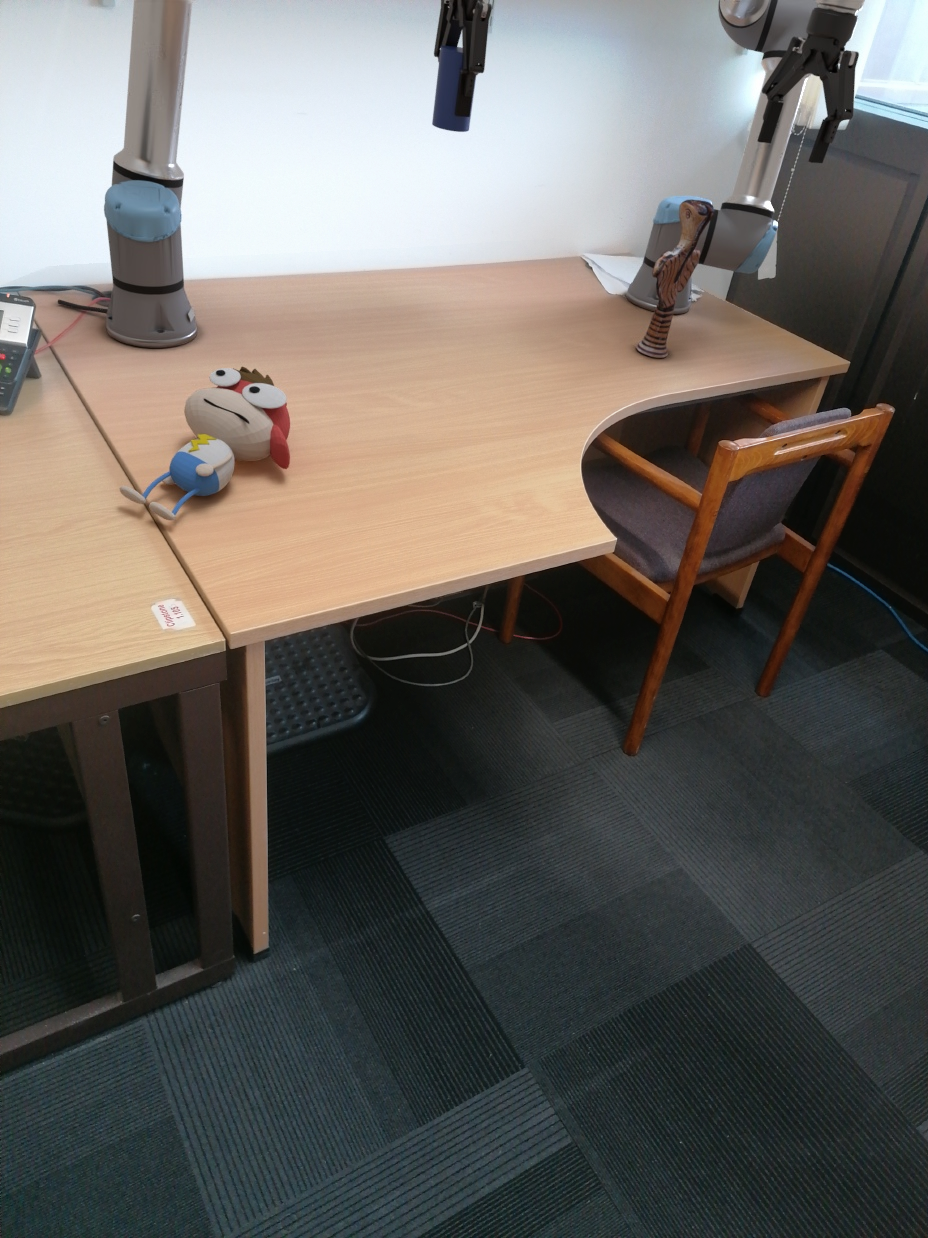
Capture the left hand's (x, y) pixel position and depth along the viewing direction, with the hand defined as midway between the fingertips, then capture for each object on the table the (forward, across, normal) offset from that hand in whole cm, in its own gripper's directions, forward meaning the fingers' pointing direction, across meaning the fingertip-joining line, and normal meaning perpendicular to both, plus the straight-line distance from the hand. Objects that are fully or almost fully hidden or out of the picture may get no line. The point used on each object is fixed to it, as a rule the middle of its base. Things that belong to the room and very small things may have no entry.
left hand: (452, 110), depth 160 cm
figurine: (+37, -26, -40) cm, 61 cm away
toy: (+38, -50, +59) cm, 86 cm away
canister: (+3, 0, 0) cm, 3 cm away
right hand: (-3, -35, -50) cm, 61 cm away
